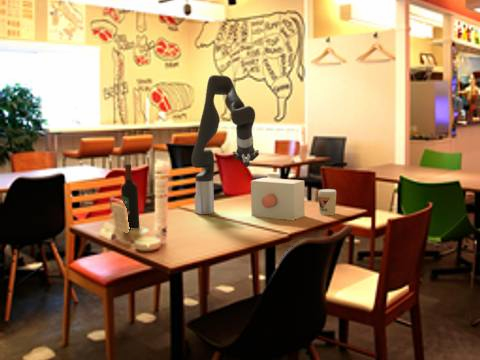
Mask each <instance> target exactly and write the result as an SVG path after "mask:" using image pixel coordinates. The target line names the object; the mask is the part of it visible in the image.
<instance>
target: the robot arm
mask: <svg viewBox="0 0 480 360" xmlns="http://www.w3.org/2000/svg"><path fill="white" fill-rule="evenodd" d="M217 95H218V96H226V97H225V99H224V101H225V105H226V108H227V109H228V110H229V111H230V112H229V113H230V117H231V121H232V123H233V124H234V125H235V126H236V127H235V131H236V151H232V157H233V158H234V159H236V160H237V161H238V162H240V163H242V162H243V167H244V168H249V166H250V165H251V164H250V162H254V160H255V159H256V158H258V157H259V155H260V150H259V149H256V150H255V148H254V136H253V126H254V123H255V119H256V111H255V109H254V108H253V107H252V106H250V105H246V106H245V104H244V103H245V102H244V101H242V99H241V98H240V97H239V95H238V93H237V91H236V87H235V86H234V83H233V80H232V79H231V78H230V76H227V75H218V74H217V75H216V74H212V75H210V76H209V78H208V81H207V85H206V91H205V100H204V104H203V105H204V106H203V111H202V115H201V118H200V123H199V129H198V134H197V138H196V141H195V145H194V147H193V150H192V154H191V165H192V167H193V168H196V169H203V170H201V172H199V173H198V174H196V175H195V194H194V212H195V213H194V214H198V215H210V214H213V213H215V198H214V196H215V195H214V191H215V189H214V175H215V156H214V155H215V154H214V153H213V151H212V149H206V146H207V145H208V143H209V142H210V141H211V140H212V139H213V138H214V137H215V135H216V134H217V132H218V129H219V125H220V121H221V120H220V119H221V118H220V115H219V112H218V110H217V108H216V105H215V96H217Z"/></svg>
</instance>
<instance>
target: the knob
mask: <svg viewBox="0 0 480 360" xmlns="http://www.w3.org/2000/svg"><path fill="white" fill-rule="evenodd" d="M262 204H263V206H264V207H265V208H271V207H274V206H275V205H276V204H277V198H276V196H275V195H273V194H269V195H265V196H264V197H263V198H262Z"/></svg>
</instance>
